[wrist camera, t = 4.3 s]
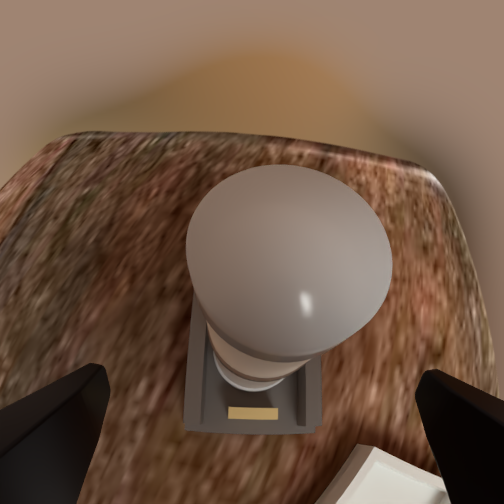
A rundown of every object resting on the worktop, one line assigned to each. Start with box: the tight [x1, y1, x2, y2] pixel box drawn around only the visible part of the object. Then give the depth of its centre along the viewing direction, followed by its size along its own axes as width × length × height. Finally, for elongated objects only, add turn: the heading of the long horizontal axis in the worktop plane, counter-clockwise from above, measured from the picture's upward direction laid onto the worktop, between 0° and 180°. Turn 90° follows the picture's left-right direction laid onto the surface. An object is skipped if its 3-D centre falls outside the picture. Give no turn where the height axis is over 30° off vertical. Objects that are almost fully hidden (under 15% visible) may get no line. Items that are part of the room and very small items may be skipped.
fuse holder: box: [183, 291, 322, 434], centre depth 16 cm, size 9×7×3 cm
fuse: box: [186, 165, 392, 392], centre depth 11 cm, size 4×4×12 cm
